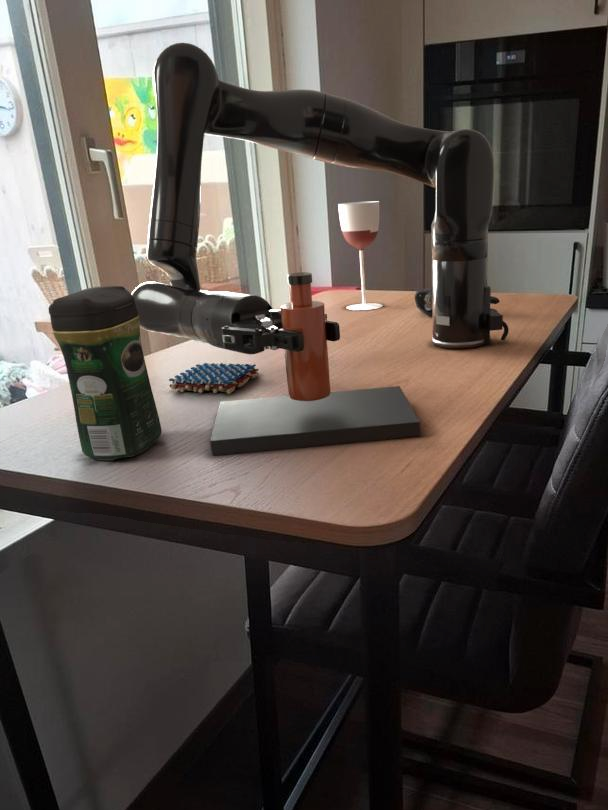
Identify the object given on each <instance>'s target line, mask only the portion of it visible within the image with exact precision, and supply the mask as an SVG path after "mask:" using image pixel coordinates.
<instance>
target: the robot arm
mask: <svg viewBox="0 0 608 810" xmlns="http://www.w3.org/2000/svg"><path fill="white" fill-rule="evenodd" d="M152 86H153V92H154V96H155V103H156V117H157V118H156V119H157V136H156V137H157V141H156V142H157V143H156V144H157V145H156V159H155V168H154V170H155V171H154V178H153V187H152V196H151V204H150V213H149V223H148V233H147V244H146V257H147V261H148V262H149V263H150V264H151V265H152V266H154V267H155V268H158V269H159V270H161V271H162V272H164V273H165V274H166V275H167V277H168V279H169V283H170V285H169V284H165V283H161V282H156V281H146V282H143V283H140V284H139V285H138V286H137V287H135V289H133V291H132V292H131V294H132V295H133V297H134V300H135V304H136V307H137V311H138V316H139V322H140V329H142V330H144V331H147V332H152V333H157V334H163V335H167V336H168V335H169V336H173V337H179V338H187V339H189V340H192V341H195V342H199V343H204V344H208V345H210V346H212V347H215V348H218V349H221V350H222V349H223V350H226V351H227V350H228V351H231V352H236V353H240V354H244V355H257V354H261V353H262V352H265V351H266V350H271V351H277V350H280V349H281V350H284V349H286V350H291V351H296V352H298V351H302V350H303V349H304V344H303V335H302V333H301V332H299V331H293V330H287V329H282V322H281V312H280V309H274V308H273V307H272V306H271V304H270V302H268V301H267V300H266V299H265V298H264V297H262V296H259V295H254V294H249V293H248V294H247V293H240V292H232V291H223V290H221V291H220V290H219V291H209V290H202V289H201V282H200V275H199V270H198V263H197V253H198V242H199V233H200V223H201V222H200V221H201V186H202V160H203V151H204V144H205V137H206V135H207V136H216V137H222V138H223V137H224V138H229V139H235V140H242V141H247V142H250V143H255V144H258V145H261V146H265V147H267V148H272V149H275V150H278V151H282V152H287V153H290V154H293V155H298V156H301V157H305V158H308V159H311V160H316V161H318V162H323V163H327V164H331V165H334V166H335V165H336V166H341V167H346V168H353V169H359V170H367V171H376V172H385V173H391V174H395V175H398V176H401V177H404V178H408V179H410V180H413V181H416V182H419V183H422V184H424V185H427V186H429V187H431V188H434V189H435V210H434V217H433V219H432V222H431V225H430V233H431V234H430V239H431V241H430V243H431V245H430V247H431V249H430V250H431V289H432V314H433V315H432V338H431V340H432V341H431V342H432V345H434V346H435V347H439V348H443V349H470V348H476V347H480V346H483V345H490V343H491V332H493V331H502V330H503V333H502V335H501V337H500V340H501V341H506V339H507V337H508V335H509V325H508V323H507V322H505V320H503V319H504V315H503V314H501V313H500V312H498V310H496V309H495V310H496V311H495V310H490V308H491V303H490V298H491V296H492V295H491V294H492V293H491V292H492V291H491V286H490V285H488V258H489V257H488V246H489V244H488V242H489V238H488V237H489V226H490V223H491V220H492V215H493V204H494V185H495V184H494V183H495V160H494V158H495V157H494V152H493V148H492V146H491V143H490V142H489V140H488V139H487V137H486V136H485V135H484V134H482V133H481V132H479V131H478V130H475V129H471V128H461V129H455V130H438V129H430V128H425V127H419V126H414V125H410V124H406V123H403V122H401V121H399V120H395V119H393V118H392V117H389V116H387V115H386V114H384V113H382V112H380V111H378V110H376V109H373V108H372V107H369V106H367V105H365V104H362V103H360V102H357V101H354V100H352V99H349V98H347V97H342V96H338V95H335V94H331V93H327V92H323V91H320V90H315V89H282V90H254V89H249V88H244V87H242V86H239V85H236V84H232V83H229V82H226V81H223V80H220V77H219V73H218V71H217V68H216V65H215V63H214V62H213V60H212V59H211V57H210V56H209V55H208V54H207V52H205V51H204V50H203V49H202V48H200V47H199V46H197V45H196V44H192V43H190V42H176V43H172V44H170V45H169V46H167V47H166V48H164V49H163V50H162V51H161V52H160V53H159V55H158V57H157V59H156V61H155V63H154V66H153V70H152ZM325 321H326V335H327V342H337V341H340V339H341V330H340V324H339V322H337V321H331V320H328V314H327V313H325Z"/></svg>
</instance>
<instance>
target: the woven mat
mask: <svg viewBox="0 0 608 810" xmlns="http://www.w3.org/2000/svg"><path fill="white" fill-rule="evenodd" d="M256 366H257V365H256V364H255V363H254V364H249V363H245V364H244V363H231V362H230V363H228V364H227V363H223V362H220V363H214V362H212V363H209V362H204V363H202V364H199V363H197V364H196V365H195V366H191V367H190V369H186V370H185V372H180V373H179V375H178V374H177V375H175V376H174V378H172V377H171V378H168V381H169V382H171V383H170V384H169V388H170V389H171V390H179V392H180V393H183V392H185V391H188V392H189V391H190V392H191V391H192V392H194V393H196V392H198V393H200V394H202V393H204V392H205V391H207V392H209V391H212V392H213V394H216V393H219V392H221V393H226V394H228V395H231V394H232V392H234V391H235V389H237V388H241V387H242V386H244V385H245V384H247V383H248V381H249V380H250V379H252V380H253V379H255V378H256V377H258V376H259V374H260V372H259V368H256Z"/></svg>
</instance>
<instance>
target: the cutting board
mask: <svg viewBox="0 0 608 810" xmlns="http://www.w3.org/2000/svg"><path fill="white" fill-rule="evenodd" d="M214 421H215V422H214V425H213V427H212V433H211V437H210V440H209V444H210V450H211V455H212V456H224V455H234V454H235V455H236V454H243V453H244V454H246V453H256V452H266V451H267V452H268V451H276V450H287V449H299V448H307V447H309V448H310V447H321V446H330V445H342V444H352V443H353V444H354V443H363V442H364V443H365V442H372V441H373V442H374V441H382V440H384V441H385V440H395V439H404V438H416V437H420V436H421V421H420V420H419V418H418V415H416V413H415V411H414V409H413V407H412V406H411V403H410V402H409V401H408V398H407V397H406V395H405V393H404V391H403V389H402V388H401V386H400V385H395V386H384V387H373V388H363V389H360V388H359V389H352V390H351V389H350V390H338V391H331V394H330V395H329V396H328V397H326V398H323V399H320V400H314V401H297V400H293V399H291V398H290V397H289V395H281V396H271V397H270V396H269V397H258V398H249V399H248V398H247V399H236V400H224V401H220V402H219V406H218V409H217V414H216V417H215V420H214Z"/></svg>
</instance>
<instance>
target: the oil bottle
mask: <svg viewBox="0 0 608 810" xmlns="http://www.w3.org/2000/svg"><path fill="white" fill-rule="evenodd" d="M286 276H287V284H288V285H289V288H290V289H289V290H290V299H291V301H290V302H286V303H284V304H281V305H280V307H279V310H280V312H281V322H282V329H287V330H293V331H299V332H301V333H302V335H303V344H304V349H303V350H302V351H298V352H296V351H291V350H286V349H283V350H284V361H285V371H286V381H287V391H288V396H289V397H290V398H291V399H293V400H297V401H314V400H320V399H323V398H326V397H328V396H329V395H330V394H331V392H332V391H331V377H330V376H331V375H330V364H329V352H328V351H329V349H328V340H327V335H326V321H325V314H326V309H325V308H326V307H325V303H324V302H322V301H318V300H313V296H312V295H313V294H312V284H313V274H312V272H309V271H308V272H305V271H303V272H292V273H288V274H287V275H286Z"/></svg>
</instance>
